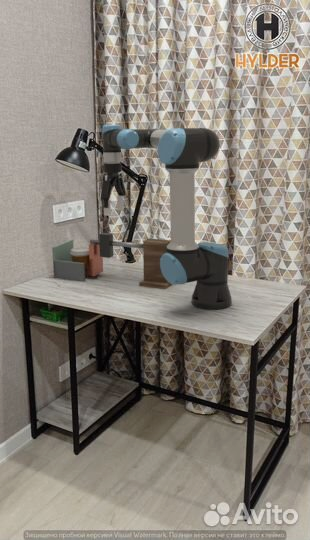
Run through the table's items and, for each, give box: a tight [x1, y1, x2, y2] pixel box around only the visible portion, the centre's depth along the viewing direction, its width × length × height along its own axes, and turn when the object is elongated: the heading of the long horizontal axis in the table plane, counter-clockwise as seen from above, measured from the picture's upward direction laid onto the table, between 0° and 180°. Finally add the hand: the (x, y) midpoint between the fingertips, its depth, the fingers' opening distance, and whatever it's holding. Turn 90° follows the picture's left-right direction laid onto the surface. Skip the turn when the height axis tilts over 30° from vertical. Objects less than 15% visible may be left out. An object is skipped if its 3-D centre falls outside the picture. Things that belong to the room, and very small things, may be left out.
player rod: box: [85, 232, 143, 277], centre depth 231 cm, size 8×30×18 cm, turn 69°
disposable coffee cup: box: [70, 246, 90, 278], centre depth 239 cm, size 10×10×12 cm
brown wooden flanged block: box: [138, 238, 173, 290], centre depth 225 cm, size 12×12×19 cm
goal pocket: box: [51, 239, 86, 282], centre depth 240 cm, size 16×15×14 cm
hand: (114, 213), depth 229 cm, fingers open, 13 cm apart
